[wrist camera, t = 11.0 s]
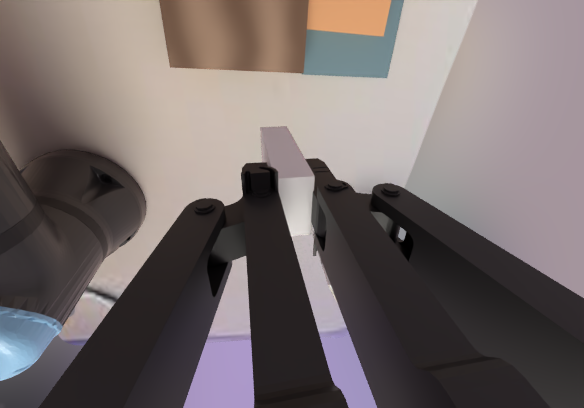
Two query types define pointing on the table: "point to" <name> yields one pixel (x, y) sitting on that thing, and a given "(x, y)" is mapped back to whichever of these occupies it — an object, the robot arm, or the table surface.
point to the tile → (349, 16)
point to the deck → (236, 34)
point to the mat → (352, 50)
